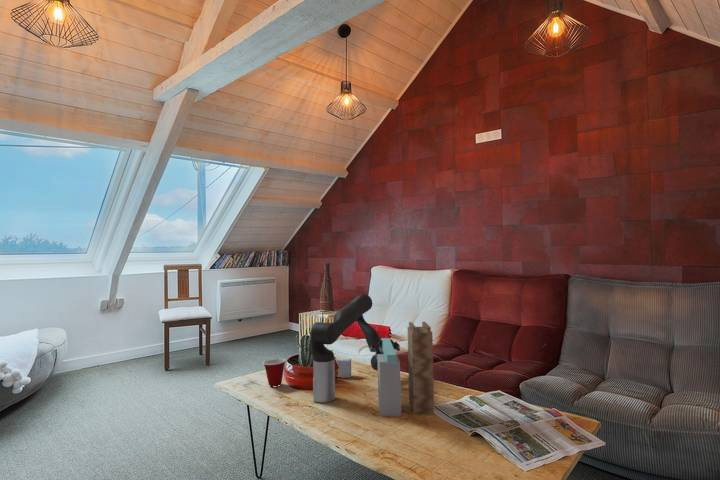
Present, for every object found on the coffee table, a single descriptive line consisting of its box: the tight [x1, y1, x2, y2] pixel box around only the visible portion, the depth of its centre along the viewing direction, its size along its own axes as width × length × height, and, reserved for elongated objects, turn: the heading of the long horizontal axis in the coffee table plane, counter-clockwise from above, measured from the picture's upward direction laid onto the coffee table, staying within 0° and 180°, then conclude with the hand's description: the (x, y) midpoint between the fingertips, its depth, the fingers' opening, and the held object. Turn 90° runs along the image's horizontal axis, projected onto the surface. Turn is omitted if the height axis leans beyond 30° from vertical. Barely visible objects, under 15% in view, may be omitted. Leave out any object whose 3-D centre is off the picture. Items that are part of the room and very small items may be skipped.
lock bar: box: [380, 337, 398, 364], centre depth 169 cm, size 4×26×4 cm, turn 2°
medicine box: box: [336, 358, 352, 379], centre depth 212 cm, size 8×4×9 cm, turn 84°
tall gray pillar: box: [377, 353, 402, 417], centre depth 169 cm, size 8×12×21 cm, turn 2°
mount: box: [407, 321, 435, 416], centre depth 170 cm, size 8×12×34 cm, turn 2°
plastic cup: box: [262, 358, 287, 386], centre depth 201 cm, size 11×11×12 cm
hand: (386, 342), depth 176 cm, fingers closed on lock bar, 3 cm apart
